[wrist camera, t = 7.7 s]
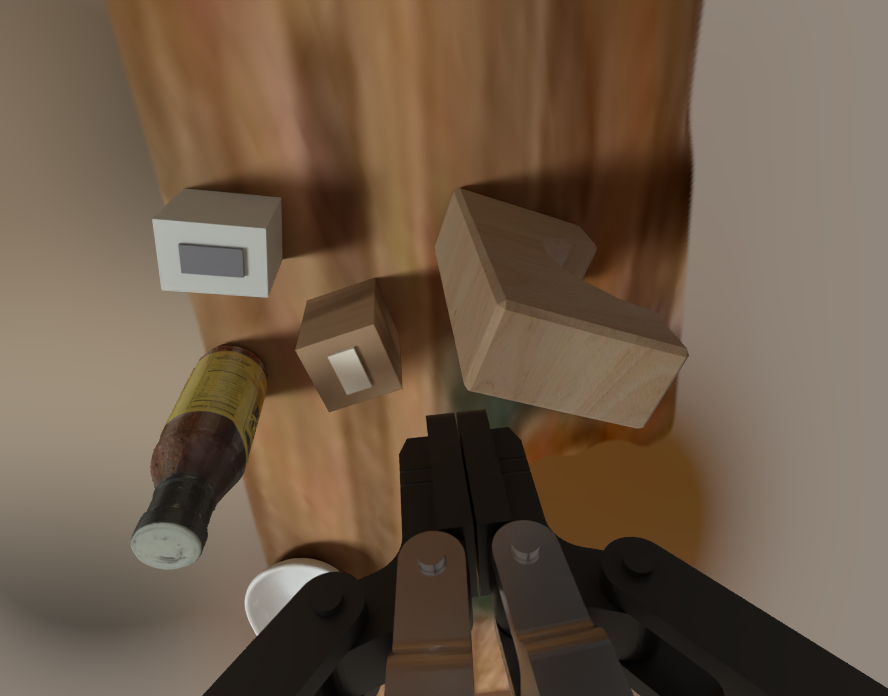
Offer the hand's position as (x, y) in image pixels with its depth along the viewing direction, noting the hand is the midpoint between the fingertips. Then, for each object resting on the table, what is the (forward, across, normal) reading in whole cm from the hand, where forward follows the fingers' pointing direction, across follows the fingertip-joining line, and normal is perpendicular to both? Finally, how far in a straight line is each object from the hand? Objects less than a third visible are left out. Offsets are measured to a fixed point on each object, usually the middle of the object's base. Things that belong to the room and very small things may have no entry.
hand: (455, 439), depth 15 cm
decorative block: (+33, -7, +8) cm, 35 cm away
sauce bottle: (+33, +17, +18) cm, 41 cm away
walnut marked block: (+33, +6, +14) cm, 36 cm away
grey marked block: (+33, +14, +5) cm, 36 cm away
